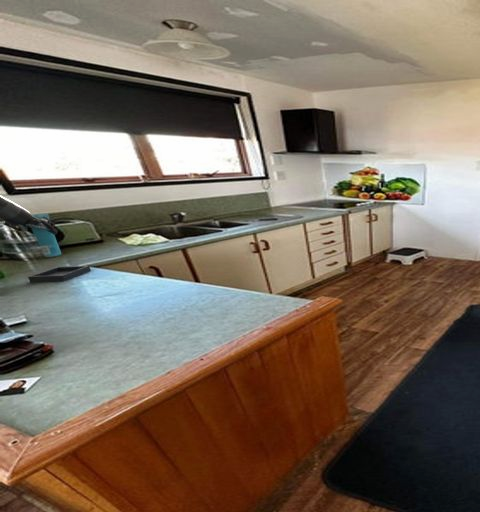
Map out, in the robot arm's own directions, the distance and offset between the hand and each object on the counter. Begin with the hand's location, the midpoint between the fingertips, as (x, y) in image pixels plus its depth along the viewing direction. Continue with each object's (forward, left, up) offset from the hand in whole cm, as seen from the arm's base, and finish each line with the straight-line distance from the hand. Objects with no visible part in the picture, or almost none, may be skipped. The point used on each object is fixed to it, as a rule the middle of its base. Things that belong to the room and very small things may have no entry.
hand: (46, 233), depth 123 cm
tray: (0, -2, -21) cm, 21 cm away
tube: (0, -1, -11) cm, 11 cm away
